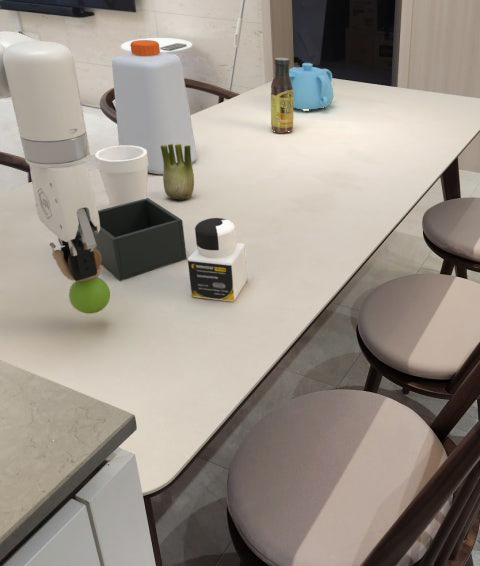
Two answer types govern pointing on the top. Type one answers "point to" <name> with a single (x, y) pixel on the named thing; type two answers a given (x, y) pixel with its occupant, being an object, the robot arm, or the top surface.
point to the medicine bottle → (217, 261)
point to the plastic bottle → (152, 102)
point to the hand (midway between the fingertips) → (81, 272)
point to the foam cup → (123, 173)
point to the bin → (139, 238)
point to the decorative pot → (311, 87)
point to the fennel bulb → (177, 172)
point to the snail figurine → (85, 285)
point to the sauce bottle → (281, 97)
